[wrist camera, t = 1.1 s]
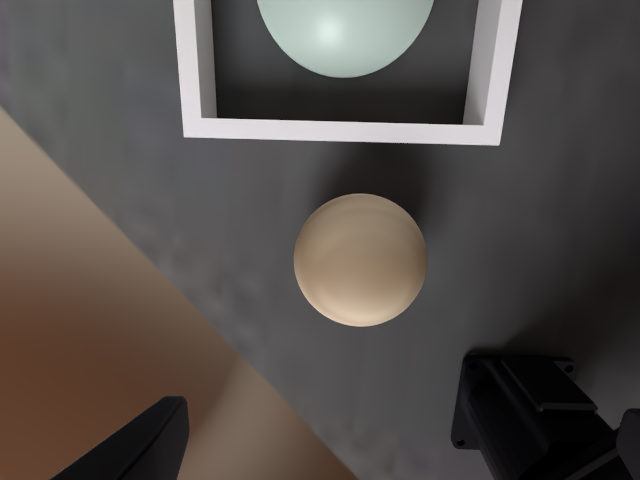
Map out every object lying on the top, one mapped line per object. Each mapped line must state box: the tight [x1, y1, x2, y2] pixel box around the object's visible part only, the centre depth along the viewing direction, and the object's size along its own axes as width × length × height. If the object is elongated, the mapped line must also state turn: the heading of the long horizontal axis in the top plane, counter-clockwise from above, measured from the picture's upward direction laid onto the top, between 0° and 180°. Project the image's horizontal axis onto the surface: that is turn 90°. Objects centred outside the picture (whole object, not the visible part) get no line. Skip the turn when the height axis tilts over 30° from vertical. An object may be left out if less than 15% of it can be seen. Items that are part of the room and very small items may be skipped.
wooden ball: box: [294, 194, 427, 326], centre depth 17 cm, size 6×6×6 cm
